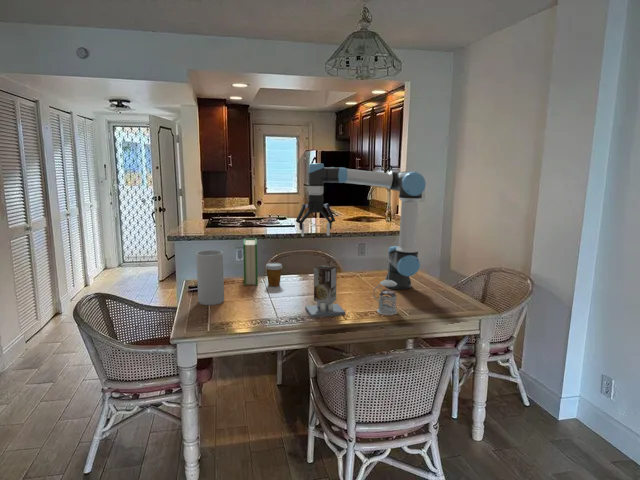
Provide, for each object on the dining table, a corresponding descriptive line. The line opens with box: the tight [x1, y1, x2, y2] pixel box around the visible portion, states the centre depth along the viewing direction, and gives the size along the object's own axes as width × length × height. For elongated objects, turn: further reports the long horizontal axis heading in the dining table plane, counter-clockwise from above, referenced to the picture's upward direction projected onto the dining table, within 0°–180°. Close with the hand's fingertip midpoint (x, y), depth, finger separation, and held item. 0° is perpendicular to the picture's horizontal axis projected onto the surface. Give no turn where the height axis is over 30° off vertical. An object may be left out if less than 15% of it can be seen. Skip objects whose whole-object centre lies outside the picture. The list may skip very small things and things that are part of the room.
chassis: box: [304, 301, 346, 319], centre depth 197 cm, size 16×12×6 cm
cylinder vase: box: [195, 249, 225, 306], centre depth 208 cm, size 12×12×25 cm
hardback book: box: [242, 237, 258, 287], centre depth 244 cm, size 18×7×24 cm, turn 9°
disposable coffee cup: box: [265, 262, 283, 287], centre depth 239 cm, size 10×10×12 cm
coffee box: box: [313, 264, 338, 304], centre depth 195 cm, size 9×6×16 cm
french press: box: [373, 259, 398, 316], centre depth 197 cm, size 10×12×25 cm
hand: (315, 235), depth 217 cm, fingers open, 13 cm apart
